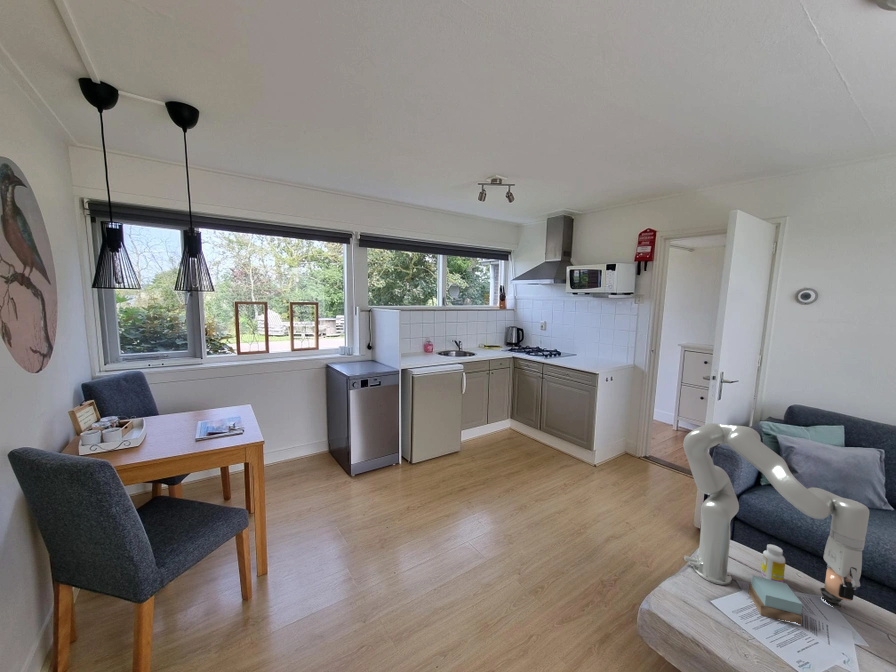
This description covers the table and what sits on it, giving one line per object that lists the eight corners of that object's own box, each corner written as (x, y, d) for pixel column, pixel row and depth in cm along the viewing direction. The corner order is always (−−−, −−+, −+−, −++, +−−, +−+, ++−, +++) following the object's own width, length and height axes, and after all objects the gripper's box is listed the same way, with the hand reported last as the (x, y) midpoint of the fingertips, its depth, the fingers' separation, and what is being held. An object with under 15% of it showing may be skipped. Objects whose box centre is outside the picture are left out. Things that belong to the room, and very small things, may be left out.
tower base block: (760, 615, 126) (761, 605, 125) (748, 593, 136) (749, 583, 135) (801, 627, 121) (802, 616, 121) (785, 603, 131) (786, 593, 131)
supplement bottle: (786, 582, 142) (790, 551, 141) (777, 586, 139) (780, 555, 138) (766, 570, 148) (769, 541, 147) (757, 574, 145) (760, 544, 145)
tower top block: (764, 605, 125) (765, 595, 125) (751, 585, 135) (752, 575, 134) (801, 614, 122) (802, 603, 122) (784, 593, 131) (785, 583, 131)
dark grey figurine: (847, 610, 129) (850, 579, 128) (827, 607, 130) (831, 576, 129) (833, 598, 134) (836, 567, 134) (814, 595, 136) (818, 565, 135)
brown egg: (831, 596, 115) (833, 578, 115) (820, 582, 121) (822, 565, 121) (858, 603, 113) (860, 585, 112) (845, 589, 119) (848, 572, 118)
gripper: (816, 520, 125) (809, 568, 126) (847, 551, 109) (839, 605, 110) (845, 527, 122) (838, 576, 123) (882, 559, 106) (872, 614, 108)
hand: (838, 589), depth 117 cm, fingers closed on brown egg, 6 cm apart
